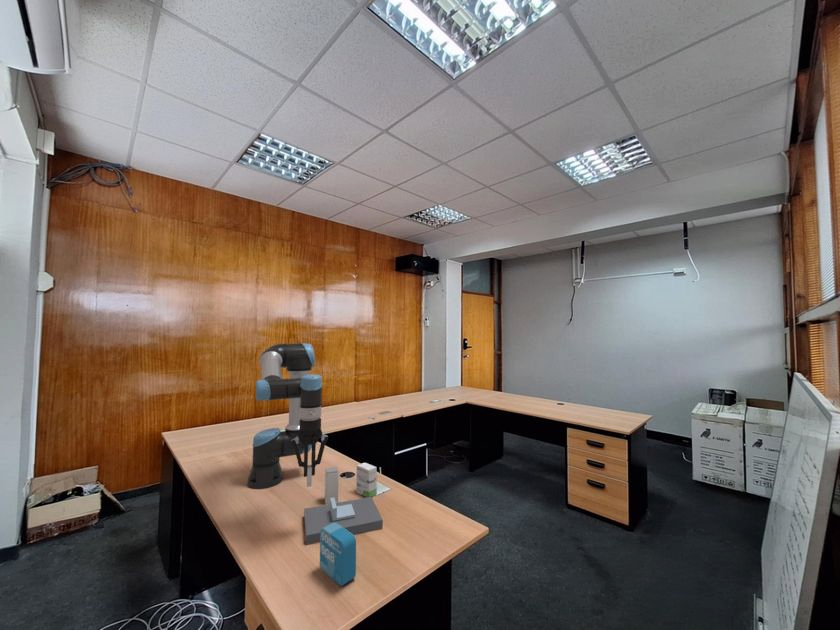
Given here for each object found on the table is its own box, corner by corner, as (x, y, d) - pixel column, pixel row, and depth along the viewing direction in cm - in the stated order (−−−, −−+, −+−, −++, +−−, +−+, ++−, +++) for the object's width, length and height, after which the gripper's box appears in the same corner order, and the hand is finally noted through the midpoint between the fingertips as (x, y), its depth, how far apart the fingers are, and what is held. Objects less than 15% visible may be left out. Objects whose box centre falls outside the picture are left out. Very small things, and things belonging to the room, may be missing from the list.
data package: (319, 567, 99) (320, 526, 99) (332, 560, 102) (333, 520, 103) (342, 588, 91) (343, 543, 91) (356, 579, 94) (356, 536, 95)
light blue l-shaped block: (330, 509, 125) (330, 498, 125) (351, 505, 128) (351, 494, 128) (332, 521, 117) (332, 508, 118) (355, 516, 120) (355, 504, 121)
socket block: (304, 516, 126) (304, 508, 126) (371, 504, 135) (371, 496, 136) (306, 544, 109) (306, 535, 110) (382, 528, 119) (382, 519, 119)
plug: (324, 498, 140) (325, 468, 141) (336, 496, 142) (337, 466, 142) (325, 504, 135) (326, 472, 136) (338, 502, 137) (338, 471, 138)
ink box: (377, 494, 144) (377, 466, 145) (368, 498, 140) (368, 470, 141) (364, 488, 149) (364, 461, 150) (355, 492, 146) (356, 464, 146)
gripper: (291, 422, 114) (289, 492, 113) (330, 419, 119) (328, 486, 118) (291, 417, 121) (289, 483, 120) (327, 414, 126) (326, 478, 125)
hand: (309, 484), depth 119 cm, fingers closed
